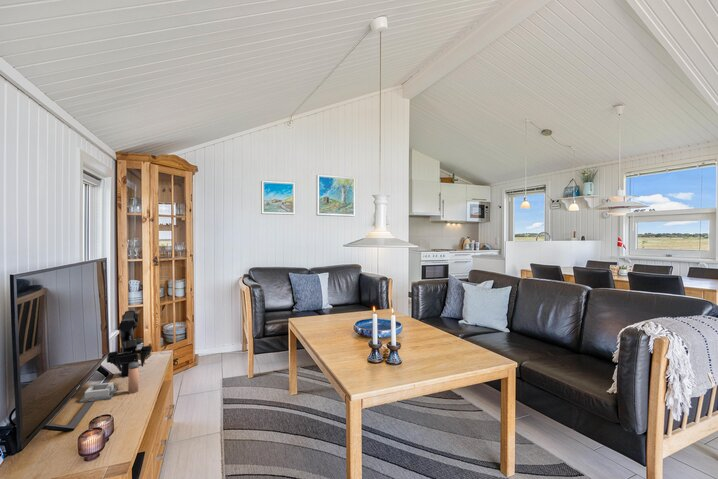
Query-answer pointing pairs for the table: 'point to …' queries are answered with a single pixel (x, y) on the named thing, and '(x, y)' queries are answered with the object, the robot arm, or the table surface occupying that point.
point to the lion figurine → (145, 357)
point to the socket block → (100, 392)
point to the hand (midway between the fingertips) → (131, 368)
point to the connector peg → (133, 377)
